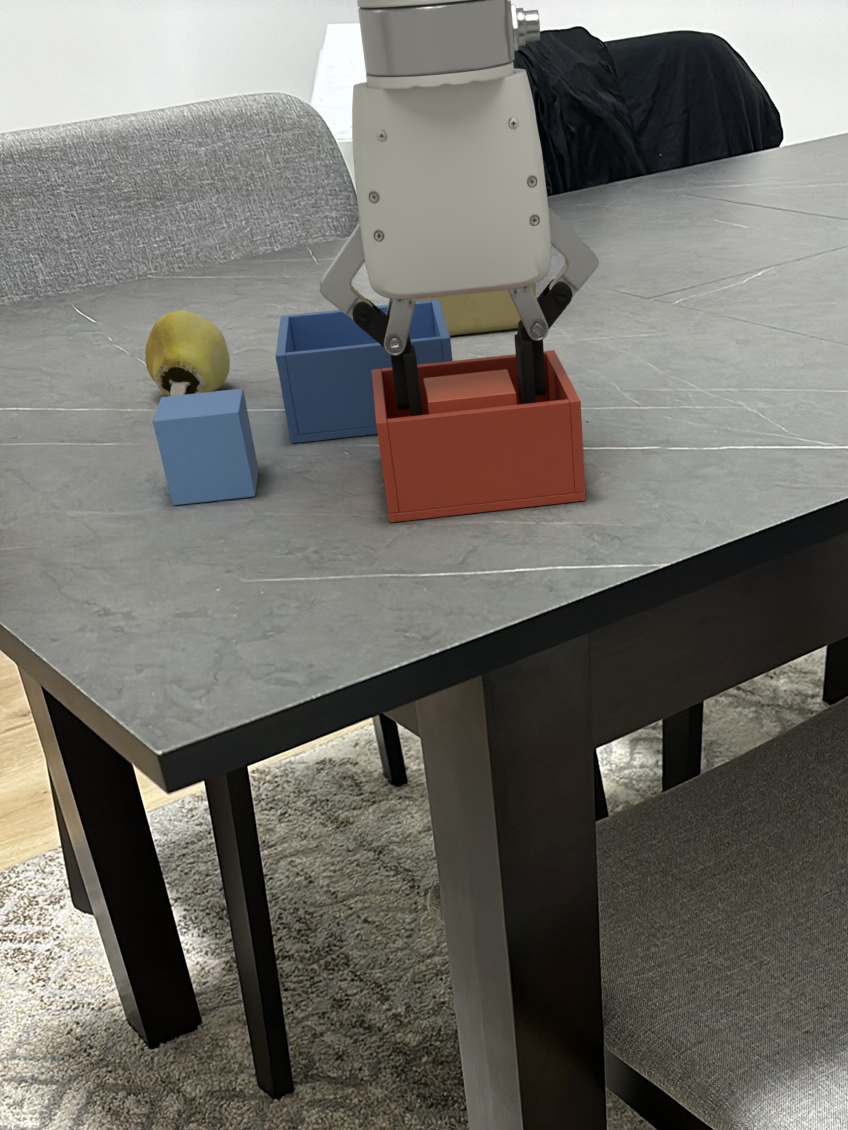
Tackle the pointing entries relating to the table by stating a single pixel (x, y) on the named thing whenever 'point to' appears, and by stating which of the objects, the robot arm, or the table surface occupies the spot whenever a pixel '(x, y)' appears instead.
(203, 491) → the blue block
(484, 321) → the cheese
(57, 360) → the table surface
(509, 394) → the red block
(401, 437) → the red bin
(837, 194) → the table surface
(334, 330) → the blue bin
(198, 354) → the mushroom
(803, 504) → the table surface
